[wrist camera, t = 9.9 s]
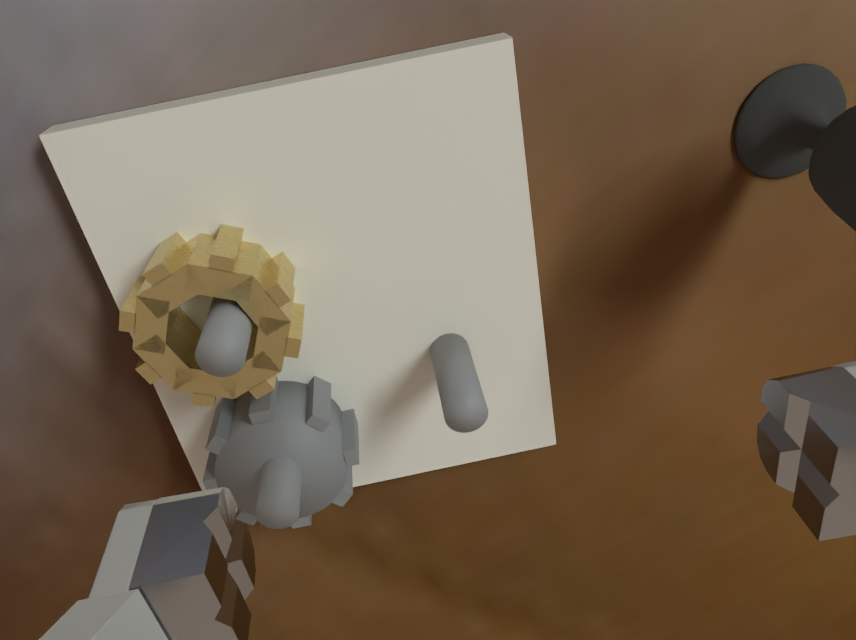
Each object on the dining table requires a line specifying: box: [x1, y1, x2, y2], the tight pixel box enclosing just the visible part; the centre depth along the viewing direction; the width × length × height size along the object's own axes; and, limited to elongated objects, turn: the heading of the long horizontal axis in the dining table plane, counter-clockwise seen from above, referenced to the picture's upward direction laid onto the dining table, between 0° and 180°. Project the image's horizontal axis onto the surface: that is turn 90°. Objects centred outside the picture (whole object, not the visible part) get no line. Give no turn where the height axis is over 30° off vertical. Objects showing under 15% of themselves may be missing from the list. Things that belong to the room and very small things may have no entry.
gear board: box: [39, 33, 556, 529], centre depth 30 cm, size 20×18×7 cm
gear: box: [119, 224, 305, 407], centre depth 29 cm, size 7×7×3 cm
